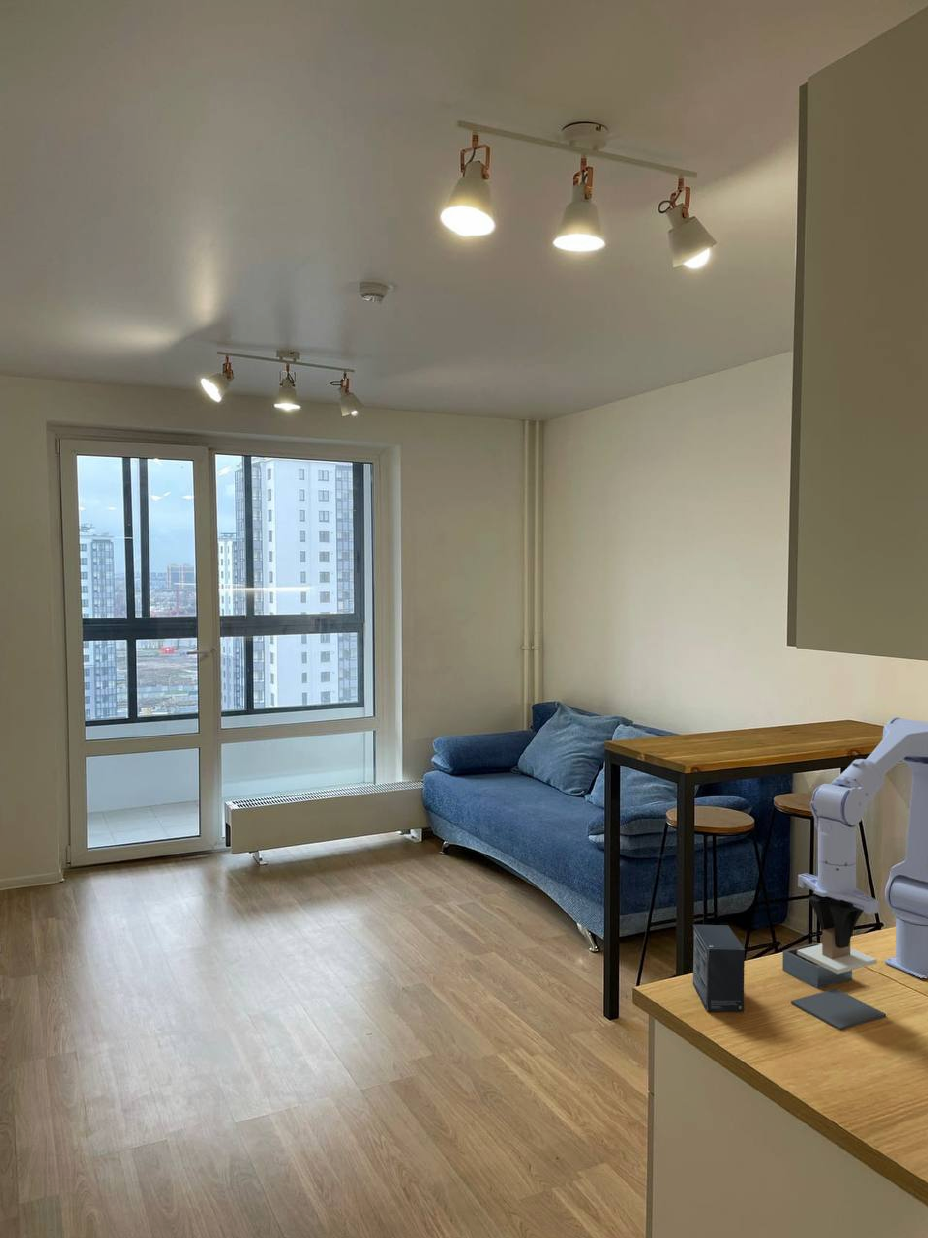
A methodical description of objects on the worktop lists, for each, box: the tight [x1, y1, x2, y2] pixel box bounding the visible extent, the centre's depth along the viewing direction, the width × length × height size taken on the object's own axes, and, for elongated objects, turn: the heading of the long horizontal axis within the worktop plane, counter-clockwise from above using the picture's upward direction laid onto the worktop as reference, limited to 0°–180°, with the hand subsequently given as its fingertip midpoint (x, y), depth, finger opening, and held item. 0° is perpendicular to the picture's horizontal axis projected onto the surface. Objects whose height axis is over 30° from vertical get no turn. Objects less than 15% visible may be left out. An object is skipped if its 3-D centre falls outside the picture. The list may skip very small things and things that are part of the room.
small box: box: [692, 924, 746, 1013], centre depth 152 cm, size 11×6×10 cm, turn 179°
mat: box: [790, 988, 887, 1031], centre depth 148 cm, size 10×10×1 cm
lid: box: [797, 927, 878, 974], centre depth 148 cm, size 8×8×5 cm
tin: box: [781, 942, 853, 989], centre depth 161 cm, size 8×8×4 cm
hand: (836, 943), depth 148 cm, fingers closed on lid
